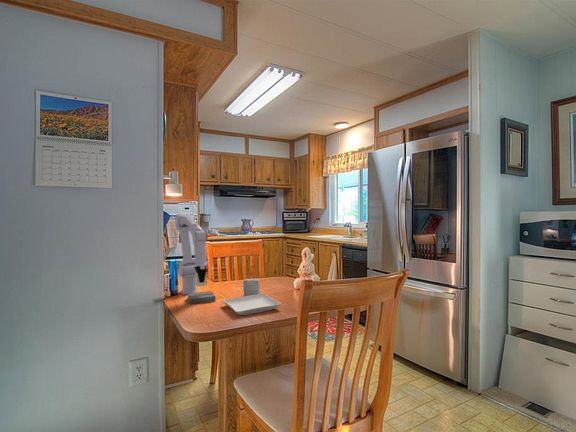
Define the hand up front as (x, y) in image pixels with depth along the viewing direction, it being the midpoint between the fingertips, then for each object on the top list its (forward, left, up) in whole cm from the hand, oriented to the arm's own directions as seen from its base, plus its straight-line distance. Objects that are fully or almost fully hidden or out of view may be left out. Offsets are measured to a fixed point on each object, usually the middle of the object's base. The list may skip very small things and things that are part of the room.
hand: (201, 281), depth 162 cm
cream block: (0, 0, -2) cm, 2 cm away
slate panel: (0, 0, -10) cm, 10 cm away
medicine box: (+5, +25, -10) cm, 27 cm away
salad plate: (+25, +19, -10) cm, 33 cm away
